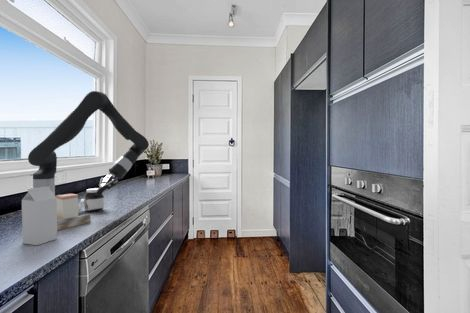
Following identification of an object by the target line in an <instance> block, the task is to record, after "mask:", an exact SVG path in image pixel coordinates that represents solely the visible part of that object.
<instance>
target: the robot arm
mask: <svg viewBox="0 0 470 313" xmlns="http://www.w3.org/2000/svg"><path fill="white" fill-rule="evenodd" d="M97 111H101V112H102V113H103V114H104V115H105V116H106V117H107V118H108V120H110V122H111V124H112V125H113V127H114V129H116V130H117V132H118V133H119V134H120V136H122V137H123V138H124V140H127V141H131V142H132V144H131V146H130V147H129V148H128V150H126V151H125V152H124V153H123V154H122V155H121V156H120V157H119V158H118V159H117V160H116V161H115V162H114V163H113V164H112V166H111V167H110V168H109V169H108V174H107V175H106V176H105V177H103V176H102V177H101V178H100V181H99V182H98V183H99V184H98V186H99V187H98V188H99V189H98V190H97V191H96V192H95V194H96V195H98V196H100V195H101V194H103V192H105V191H106V190H110V189H111V188H113V187H114V186H116V185H118V184H119V183H120V182H119V181H118V180H119V179H120V180H121V179H123V177H124V176H125V175H126V174H127V173H128V172H129V170H131V168H132V166H133V165H134V164H135V163H136V162H137V160H138V158H140V156H141V155H142V154H143V153H144V152H145V151H146V150H147V149H148V148H149V146H150V143H149V141H148V139H147V138H146V137H145V136H144V135H143V134H141V133H140V132H139V131H137V130H135V128H134V127H133V126H132V125H131V124H130V123H129V122H128V120H126V119H125V118H124V116H123V115H122V114H120V112H119V111H118V110H117V108H116V107H115V105H113V103H112V101H111V100H110V98H109V96H108V95H107V94H105V92H102V91H97V90H92V91H91V90H90V91H89V92H88V93H87V94H85V96H84V97H83V99H82V100H81V101H80V103H79V104H78V105H77V107H76V108H75V109H73V111H71V112H70V113H69V114H68V115H67V116H66V117H65V118H64V119H63V120H61V122H60V124H58V125H57V126H56V128H55V129H54V130H53V131H52V132H51V133H49V135H48V136H47V137H46V138H45V139H43V141H41V142H40V143H39V144H37V145H36V146H34V148H33V149H31V151H30V152H29V154H28V156H27V161H28V163H29V164H30V165H31V166H35V167H38V169H37V171H36V172H34V173H33V174H32V188H40V187H48V186H50V190H51V191H52V192H53V194H54V195H55V196H56V185H55V182H56V180H55V179H56V178H55V177H56V176H55V175H56V173H57V165H58V160H57V159H58V158H57V157H58V156H57V153H56V150H57V149H59V148H60V147H62V146H63V145H66V144H67V143H69V142H70V141H72V140H73V139H75V138H76V137H77V136H78V135H79V133H81V131H82V130H83V129H84V127H85V125H86V123H87V121H88V119H89V118H90V117H91V116H92V115H94V113H95V112H97Z"/></svg>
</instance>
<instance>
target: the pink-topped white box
mask: <svg viewBox="0 0 470 313" xmlns="http://www.w3.org/2000/svg"><path fill="white" fill-rule="evenodd" d="M55 196H56V198H57V220H62V219H67V218H72V217H77V216H78V205H79V194H75V193H65V194H57V195H56V194H55Z"/></svg>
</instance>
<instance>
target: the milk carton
mask: <svg viewBox="0 0 470 313" xmlns="http://www.w3.org/2000/svg"><path fill="white" fill-rule="evenodd" d="M21 230H22V232H21V234H22V235H21V237H22V238H21V240H22V244H25V245H26V244H27V245H32V246H39V245H42V244H45V243H47V242H51V241H54V240H57V239H58V230H57V198H56V194H55V195H54V194H53V192H52V191H51V190H50V186H48V187H40V188H33V187H32V188H28V189H27V193H26V194H25V195H24V197H23V198H22V199H21Z"/></svg>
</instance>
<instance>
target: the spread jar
mask: <svg viewBox="0 0 470 313" xmlns="http://www.w3.org/2000/svg"><path fill="white" fill-rule="evenodd" d="M98 189H99V187H94V188H88V189H86V192H85V194H84V196H83V198H81V199H80V200H79V202H78V212H82V211H81V210H82V208H83V207H84V210H85V212H87V213H97V212H101V211H103V210H104V207H105V196H104V194H103V193H102V194H101V195H100V196H98V195H96V194H95V192H96V191H97V190H98Z"/></svg>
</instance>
